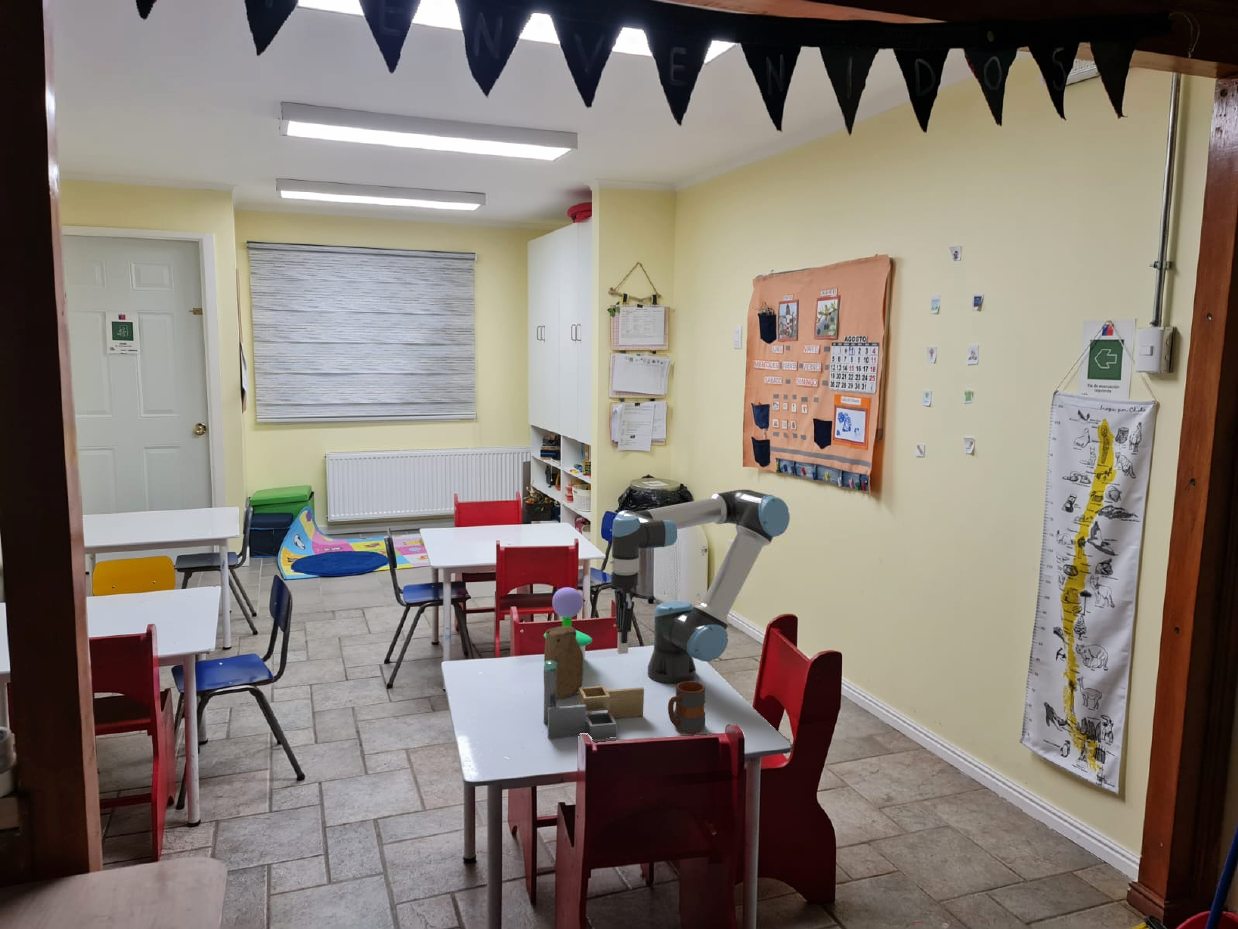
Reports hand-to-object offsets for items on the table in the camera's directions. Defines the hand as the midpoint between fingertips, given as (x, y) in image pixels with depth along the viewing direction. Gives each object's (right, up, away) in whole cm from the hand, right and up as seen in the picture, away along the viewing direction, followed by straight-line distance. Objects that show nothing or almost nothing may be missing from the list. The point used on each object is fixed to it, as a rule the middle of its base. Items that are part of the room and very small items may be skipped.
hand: (622, 652), depth 243 cm
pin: (-20, -17, -8) cm, 28 cm away
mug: (+17, -19, -10) cm, 27 cm away
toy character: (-17, -11, +35) cm, 41 cm away
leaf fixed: (-11, -19, -15) cm, 26 cm away
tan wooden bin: (-3, -17, -5) cm, 18 cm away
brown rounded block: (-17, -15, +11) cm, 25 cm away
